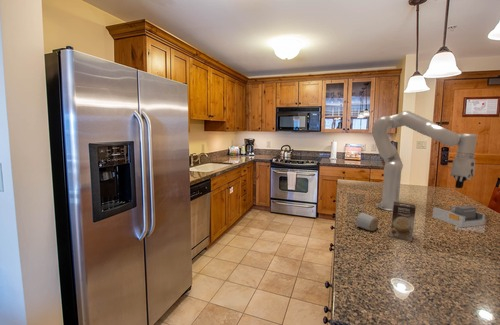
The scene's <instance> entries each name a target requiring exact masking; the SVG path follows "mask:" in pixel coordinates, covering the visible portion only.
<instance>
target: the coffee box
mask: <svg viewBox="0 0 500 325" xmlns="http://www.w3.org/2000/svg"><path fill="white" fill-rule="evenodd" d="M416 209H417V207H416V205H415V204H412V203H405V202H400V201H399V202H394V205H393V211H392V213H391V214H392V216H391V223H390V232H389V237H390V238H394V239H399V240H403V241H410V242H412V241H413V234H414V224H415V216H416Z"/></svg>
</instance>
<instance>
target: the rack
mask: <svg viewBox="0 0 500 325" xmlns="http://www.w3.org/2000/svg"><path fill="white" fill-rule="evenodd" d="M455 207H457V205H451V210H446V209H443V208H440V207H437V206H434V207H433V209H432V218H434V219H436V220H440V221H443V222H445V223H448V224H451V225H454V226H456V227H459V228H468V227H477V226H483V225H485V217H486V214H485V213H482V212H478V211H476V216H475V219H473V220H465V216H463V215H459V214H456V213H455Z"/></svg>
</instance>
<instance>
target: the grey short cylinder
mask: <svg viewBox="0 0 500 325" xmlns="http://www.w3.org/2000/svg"><path fill="white" fill-rule="evenodd" d="M356 226H357V227H358V228H361V229H363V230H367V231H370V232H374V231H376V230H377V228H378V226H379V221H378V218H377V217H374V216H373V215H370V214H367V213H364V212H360V213H359V214H358V215H357V218H356Z"/></svg>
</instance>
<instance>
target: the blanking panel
mask: <svg viewBox="0 0 500 325" xmlns="http://www.w3.org/2000/svg"><path fill="white" fill-rule="evenodd" d="M456 206H457V205H456ZM476 212H477V207H475V206H472V205H458V206H457V207H455V213H456V214H459V215H463V216H465V220H473V219H475V216H476Z"/></svg>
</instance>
